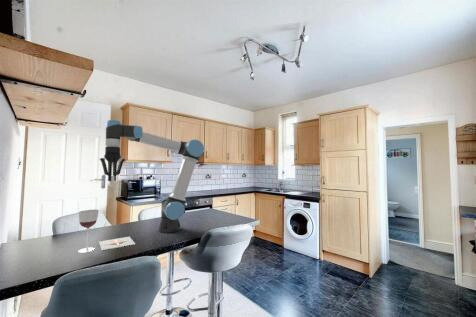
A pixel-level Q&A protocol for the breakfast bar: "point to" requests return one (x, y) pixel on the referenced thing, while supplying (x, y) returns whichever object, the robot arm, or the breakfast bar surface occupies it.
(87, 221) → the wineglass
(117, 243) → the mat
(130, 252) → the breakfast bar surface
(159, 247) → the breakfast bar surface
